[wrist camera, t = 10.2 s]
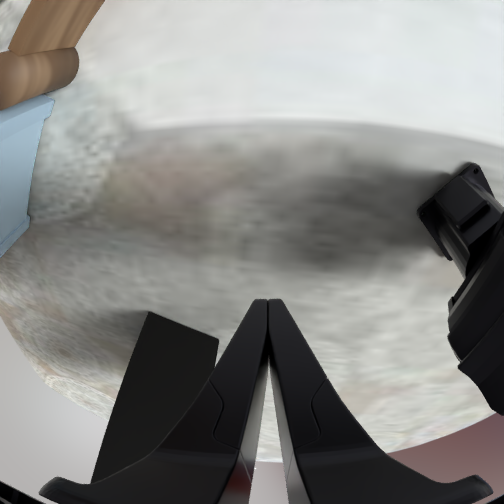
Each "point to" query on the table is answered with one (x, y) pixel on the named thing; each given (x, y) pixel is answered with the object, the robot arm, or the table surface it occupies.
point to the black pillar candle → (154, 391)
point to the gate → (18, 163)
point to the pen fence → (44, 49)
